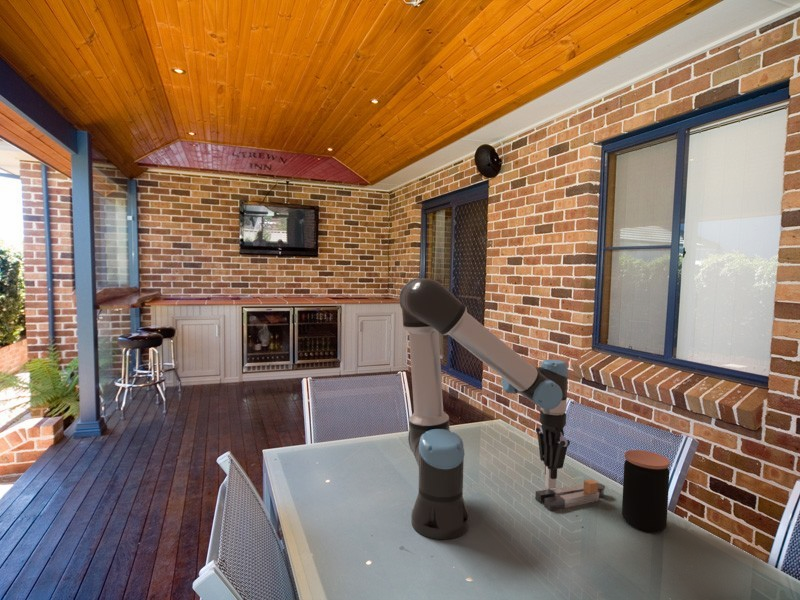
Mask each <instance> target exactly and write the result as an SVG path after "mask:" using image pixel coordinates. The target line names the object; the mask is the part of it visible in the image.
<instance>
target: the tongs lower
mask: <svg viewBox="0 0 800 600" xmlns="http://www.w3.org/2000/svg"><path fill="white" fill-rule="evenodd" d="M605 489H606V486H605V485H604V484H602V483H599V482H598V493H593V494H588V493H587V492H585V491H581V492H576V493H571V494H566V495H561V496H554V497H549V498H545V503H543V504H544V506H543V507H544V508H545V509H547V510H548V511H549V512H553V511H557V510H563V509H566V508H571V507H576V506H581V505H587V504H589V503H590V502H591V503H594V501H595V502H599V500H600V499H599V497H602V498H604V497H603V496H605V495H604V494H605Z"/></svg>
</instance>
